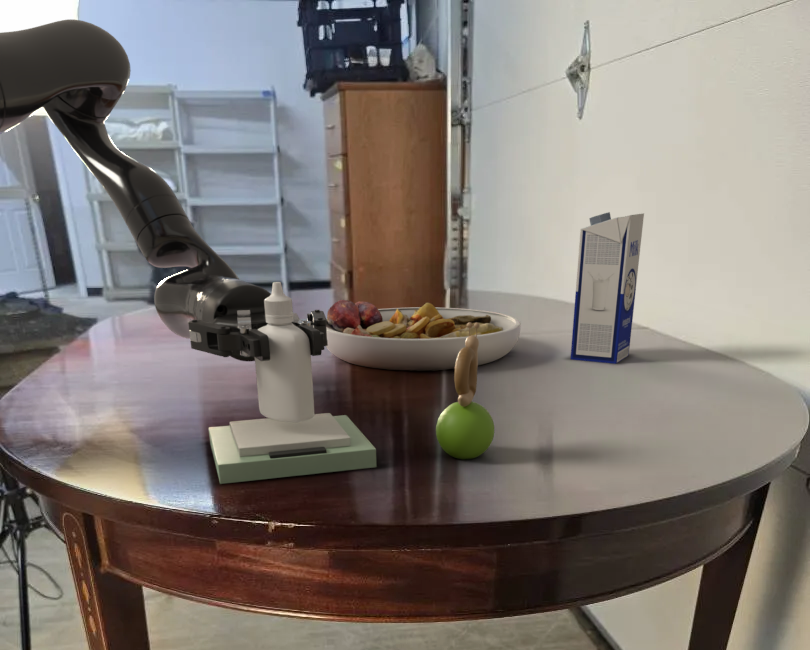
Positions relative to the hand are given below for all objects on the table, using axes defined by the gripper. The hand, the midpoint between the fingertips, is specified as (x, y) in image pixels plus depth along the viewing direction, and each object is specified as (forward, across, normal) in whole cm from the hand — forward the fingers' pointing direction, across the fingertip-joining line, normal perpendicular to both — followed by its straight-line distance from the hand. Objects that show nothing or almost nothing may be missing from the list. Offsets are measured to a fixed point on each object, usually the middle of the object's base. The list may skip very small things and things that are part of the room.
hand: (292, 346), depth 67 cm
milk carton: (-24, +56, +12) cm, 62 cm away
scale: (-2, 0, +11) cm, 11 cm away
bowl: (-40, +34, +12) cm, 54 cm away
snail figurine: (+5, +15, +11) cm, 19 cm away
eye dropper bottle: (-3, 0, +7) cm, 8 cm away
